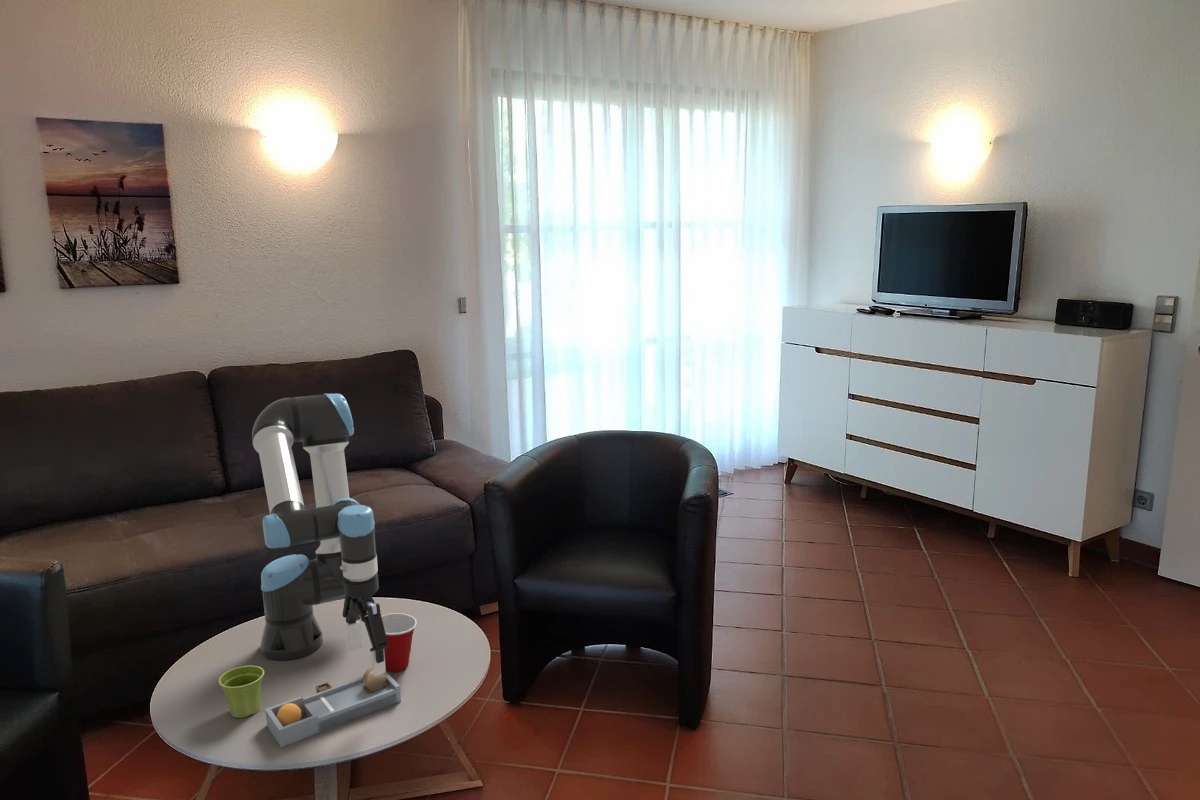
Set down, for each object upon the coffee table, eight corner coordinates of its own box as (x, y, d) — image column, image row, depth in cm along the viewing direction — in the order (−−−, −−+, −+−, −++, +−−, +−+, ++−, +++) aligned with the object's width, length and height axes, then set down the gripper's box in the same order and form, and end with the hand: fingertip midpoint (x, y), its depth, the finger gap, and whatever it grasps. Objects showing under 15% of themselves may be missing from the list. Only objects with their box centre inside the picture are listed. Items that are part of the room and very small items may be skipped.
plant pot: (234, 698, 193) (230, 664, 191) (274, 699, 193) (270, 664, 191) (215, 722, 184) (210, 687, 182) (257, 723, 184) (253, 687, 182)
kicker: (363, 688, 192) (361, 671, 191) (381, 682, 194) (379, 665, 193) (368, 694, 189) (366, 676, 189) (386, 687, 192) (385, 670, 191)
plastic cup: (417, 676, 202) (414, 630, 199) (372, 679, 200) (368, 633, 198) (421, 653, 212) (418, 609, 209) (378, 656, 211) (374, 612, 208)
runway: (266, 725, 183) (264, 709, 182) (383, 682, 199) (381, 667, 198) (281, 747, 175) (279, 730, 174) (401, 701, 191) (399, 685, 190)
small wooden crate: (316, 696, 194) (315, 686, 193) (328, 692, 195) (327, 682, 195) (321, 701, 191) (320, 691, 191) (333, 697, 193) (332, 687, 192)
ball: (295, 715, 185) (273, 724, 182) (294, 695, 184) (272, 704, 181) (305, 726, 182) (283, 735, 178) (304, 706, 181) (282, 715, 177)
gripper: (323, 560, 193) (331, 643, 197) (366, 600, 173) (373, 691, 178) (354, 552, 197) (361, 633, 202) (400, 589, 178) (406, 678, 183)
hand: (367, 660), depth 190 cm, fingers open, 13 cm apart
